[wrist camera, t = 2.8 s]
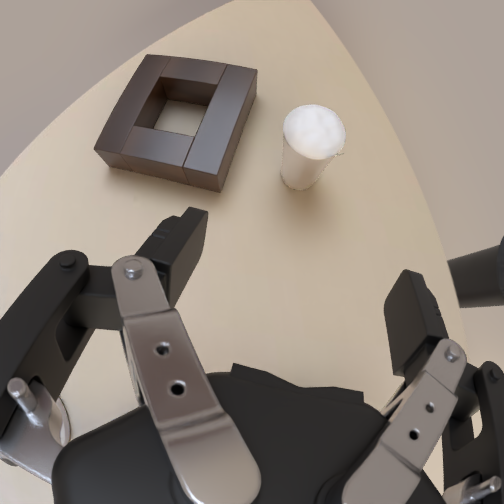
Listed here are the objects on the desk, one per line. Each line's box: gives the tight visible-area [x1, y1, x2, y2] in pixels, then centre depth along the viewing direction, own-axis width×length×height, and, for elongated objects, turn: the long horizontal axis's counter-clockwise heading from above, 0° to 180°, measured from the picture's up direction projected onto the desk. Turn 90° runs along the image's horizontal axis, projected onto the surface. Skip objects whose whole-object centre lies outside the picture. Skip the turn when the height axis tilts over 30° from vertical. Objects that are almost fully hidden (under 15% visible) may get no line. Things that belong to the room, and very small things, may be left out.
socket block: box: [94, 54, 257, 193], centre depth 28 cm, size 12×12×4 cm
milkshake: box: [281, 104, 346, 190], centre depth 24 cm, size 5×5×10 cm
